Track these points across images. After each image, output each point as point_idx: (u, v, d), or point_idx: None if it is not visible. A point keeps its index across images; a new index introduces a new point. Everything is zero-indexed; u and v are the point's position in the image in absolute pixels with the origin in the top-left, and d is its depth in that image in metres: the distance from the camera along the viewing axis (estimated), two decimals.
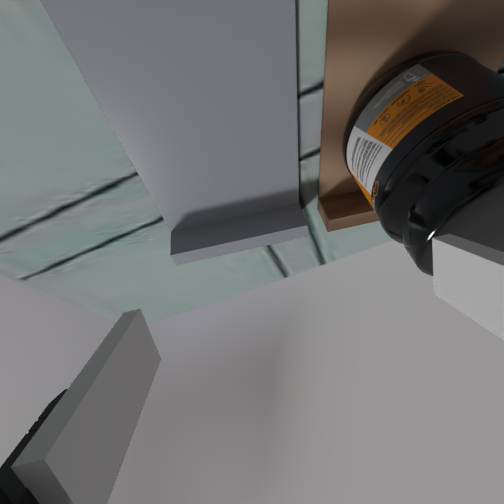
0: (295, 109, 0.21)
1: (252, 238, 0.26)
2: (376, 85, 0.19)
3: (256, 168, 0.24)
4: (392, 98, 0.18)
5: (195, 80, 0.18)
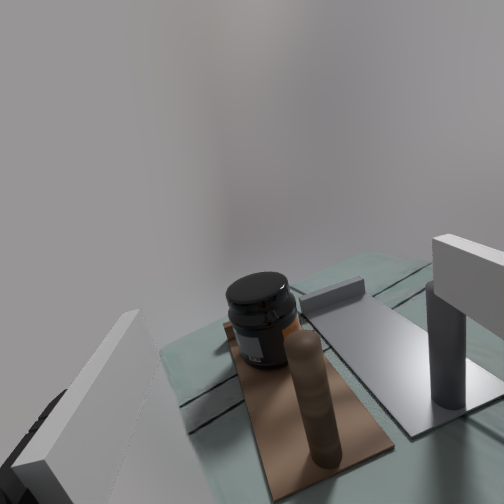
0: (329, 341, 0.45)
1: (326, 291, 0.53)
2: None
3: (335, 321, 0.49)
4: None
5: (379, 339, 0.42)
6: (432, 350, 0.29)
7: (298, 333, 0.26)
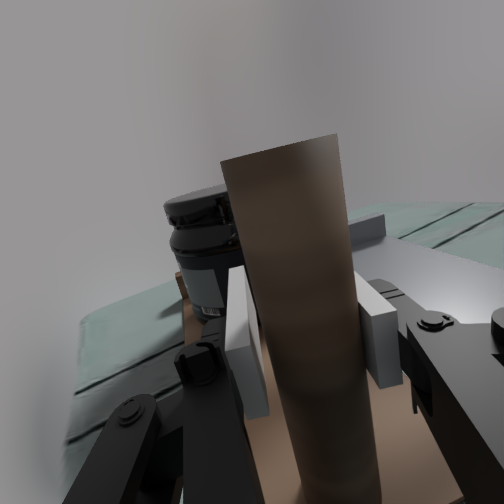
0: None
1: None
2: None
3: None
4: None
5: (420, 283, 0.26)
6: None
7: None
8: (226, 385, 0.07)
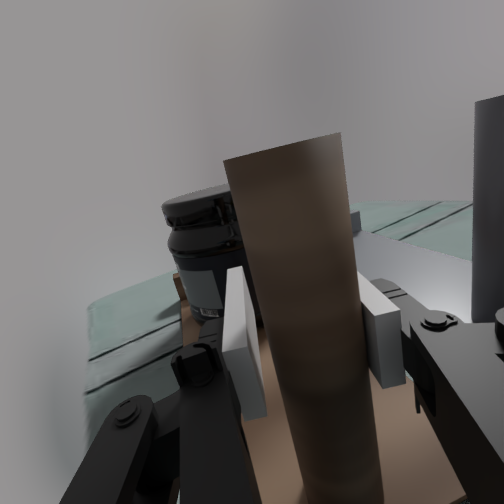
0: None
1: None
2: None
3: None
4: None
5: (382, 267, 0.30)
6: (482, 225, 0.17)
7: None
8: (223, 386, 0.07)
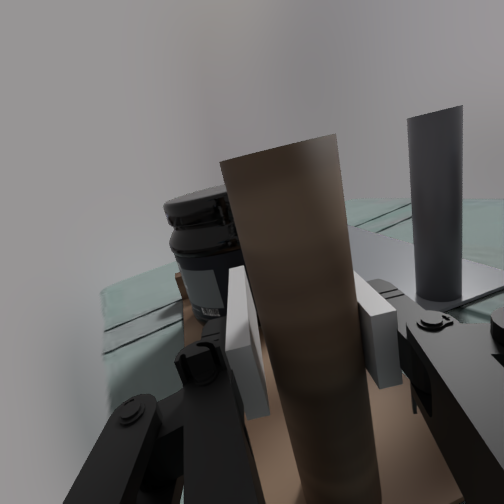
0: None
1: None
2: None
3: None
4: None
5: (356, 255, 0.35)
6: (416, 214, 0.21)
7: None
8: (227, 385, 0.07)
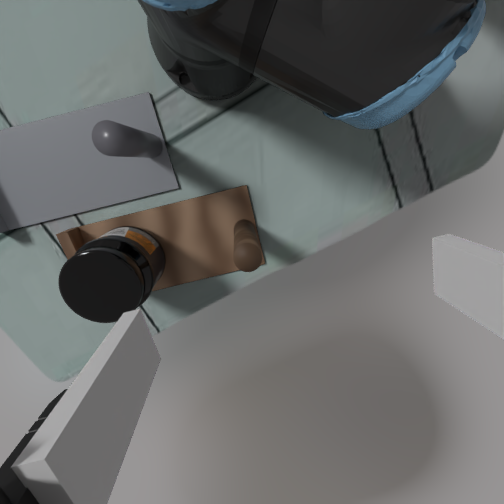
0: (68, 214, 0.42)
1: None
2: (148, 232, 0.43)
3: (30, 198, 0.41)
4: (144, 236, 0.41)
5: (71, 165, 0.40)
6: (137, 156, 0.34)
7: (237, 259, 0.31)
8: None
